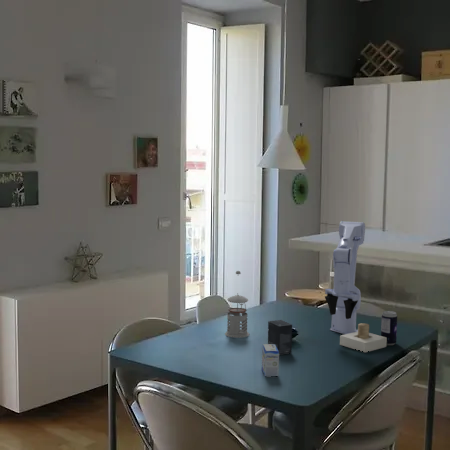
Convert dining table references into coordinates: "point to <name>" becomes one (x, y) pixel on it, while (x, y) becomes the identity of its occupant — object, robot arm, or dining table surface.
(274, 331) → the box
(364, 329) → the beech peg
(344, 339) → the socket block
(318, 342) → the dining table surface
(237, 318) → the french press
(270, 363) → the medicine box
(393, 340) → the beverage can
